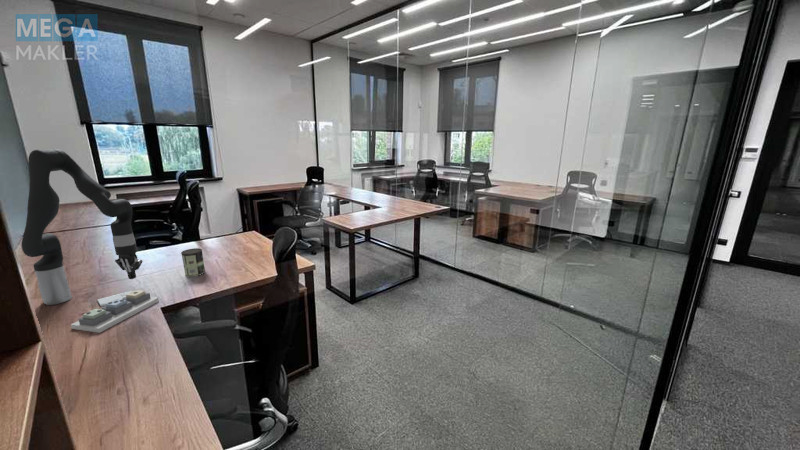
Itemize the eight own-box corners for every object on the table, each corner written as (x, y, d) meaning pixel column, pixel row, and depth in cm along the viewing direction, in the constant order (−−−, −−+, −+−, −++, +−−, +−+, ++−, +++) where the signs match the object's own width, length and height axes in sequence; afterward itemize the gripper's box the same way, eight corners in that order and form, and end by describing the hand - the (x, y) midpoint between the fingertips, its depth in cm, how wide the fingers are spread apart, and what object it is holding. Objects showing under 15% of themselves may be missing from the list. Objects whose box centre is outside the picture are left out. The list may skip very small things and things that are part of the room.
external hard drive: (97, 302, 155) (130, 293, 164) (101, 308, 150) (134, 298, 159) (97, 299, 155) (129, 290, 164) (100, 304, 150) (133, 295, 159)
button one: (127, 299, 150) (125, 294, 149) (137, 294, 155) (136, 289, 154) (135, 300, 149) (134, 295, 148) (145, 295, 154) (144, 290, 153)
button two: (84, 319, 133) (82, 314, 132) (97, 313, 138) (95, 308, 137) (93, 321, 132) (92, 315, 131) (106, 315, 137) (105, 309, 136)
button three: (106, 309, 141) (105, 303, 141) (118, 303, 146) (117, 298, 145) (116, 310, 141) (114, 304, 140) (127, 304, 145) (126, 299, 145)
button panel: (71, 328, 133) (69, 319, 131) (134, 298, 158) (133, 290, 157) (99, 332, 130) (97, 323, 129) (158, 301, 156) (157, 292, 155)
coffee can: (202, 268, 195) (198, 246, 192) (207, 273, 189) (204, 251, 185) (182, 273, 188) (178, 250, 184) (187, 278, 181) (183, 255, 178)
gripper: (104, 245, 142) (112, 280, 147) (128, 247, 140) (136, 283, 145) (121, 240, 150) (128, 274, 154) (144, 241, 147) (151, 276, 152)
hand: (132, 278), depth 149 cm, fingers closed
